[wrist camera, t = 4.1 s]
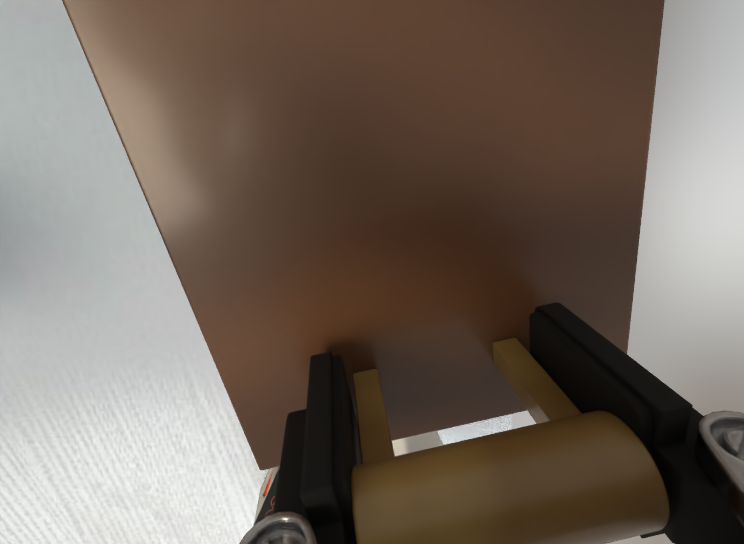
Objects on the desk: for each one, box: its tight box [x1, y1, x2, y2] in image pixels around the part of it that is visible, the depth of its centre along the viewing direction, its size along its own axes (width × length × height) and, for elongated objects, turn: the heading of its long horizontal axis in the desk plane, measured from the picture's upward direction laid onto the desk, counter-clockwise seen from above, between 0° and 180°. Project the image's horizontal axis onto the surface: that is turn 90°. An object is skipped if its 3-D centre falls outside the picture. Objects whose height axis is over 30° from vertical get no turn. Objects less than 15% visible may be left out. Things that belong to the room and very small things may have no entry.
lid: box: [62, 0, 670, 544], centre depth 7 cm, size 12×12×6 cm
